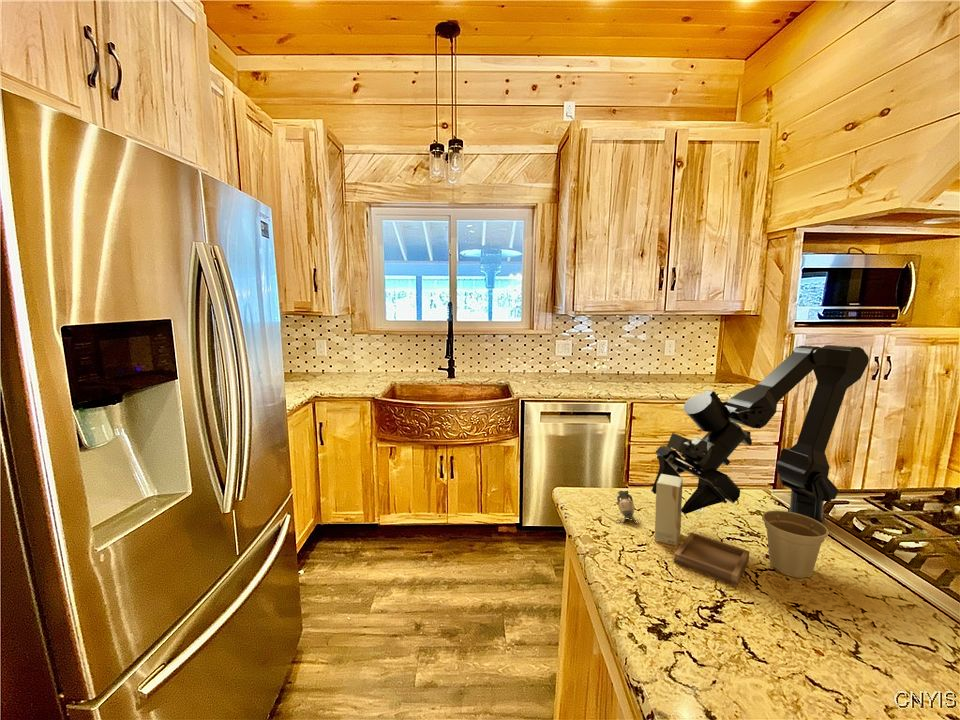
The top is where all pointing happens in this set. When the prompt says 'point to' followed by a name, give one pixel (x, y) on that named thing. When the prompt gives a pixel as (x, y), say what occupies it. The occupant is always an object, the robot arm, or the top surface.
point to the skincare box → (668, 509)
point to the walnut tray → (712, 558)
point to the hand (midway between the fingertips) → (667, 502)
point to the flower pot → (793, 542)
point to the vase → (626, 505)
